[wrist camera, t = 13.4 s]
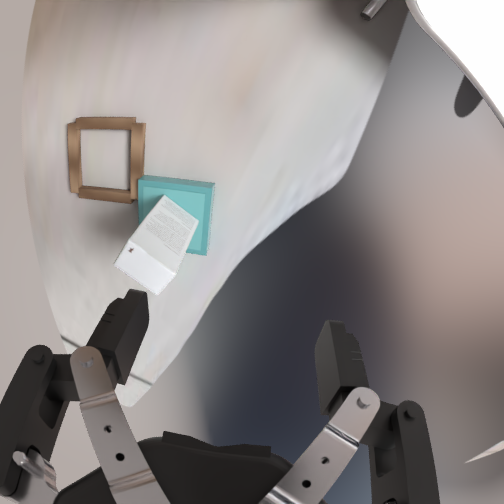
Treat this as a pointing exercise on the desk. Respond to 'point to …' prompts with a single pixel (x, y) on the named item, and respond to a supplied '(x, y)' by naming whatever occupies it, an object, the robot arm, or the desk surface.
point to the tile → (180, 204)
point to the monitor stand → (465, 39)
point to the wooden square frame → (136, 157)
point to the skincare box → (158, 246)
